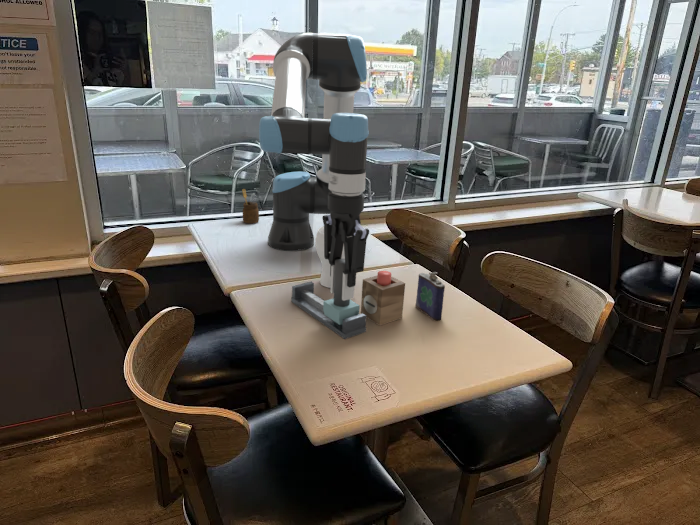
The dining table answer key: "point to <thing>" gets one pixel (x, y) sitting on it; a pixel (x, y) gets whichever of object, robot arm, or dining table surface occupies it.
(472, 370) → the dining table surface
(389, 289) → the open wooden box
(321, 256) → the cup
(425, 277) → the flask
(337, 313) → the carriage
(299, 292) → the rail track
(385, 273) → the button
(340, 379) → the dining table surface
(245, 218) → the utensil holder
